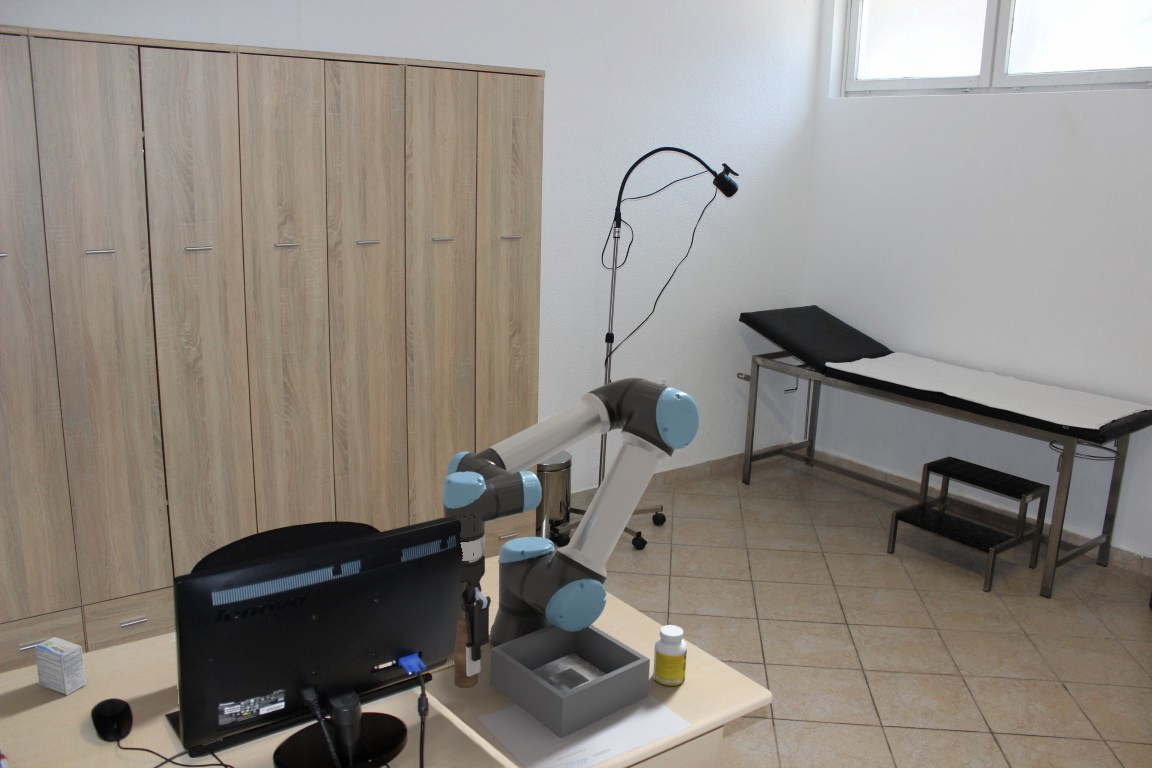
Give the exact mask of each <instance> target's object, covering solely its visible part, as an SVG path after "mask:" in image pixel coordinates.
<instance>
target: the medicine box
mask: <svg viewBox="0 0 1152 768" xmlns="http://www.w3.org/2000/svg"><path fill="white" fill-rule="evenodd" d="M34 653H35V660H36V668H37V676H38V684H39V686H40V687H44V688H47V689H49V690H52V691H55V692H57V693H60V694H63V695H66V696H68V695H70V694H72V693H74V692H76V691H77V690H79V689H81V688H83V687H85V686H86V685H87V680H86V673H85V665H84V658H83V657H84V656H83V649H82V646H81V645H79V644H76V643H73V642H71V641H68V640H65V639H62V638H60V637H56V636H53V637H50V638H49V639H46V640H44V641H43V642H41V643H38V644H37V645H36V646H34Z"/></svg>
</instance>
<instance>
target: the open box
mask: <svg viewBox="0 0 1152 768" xmlns="http://www.w3.org/2000/svg"><path fill="white" fill-rule="evenodd" d="M572 653H574V654H576V655H577V656H579V657H580V658H582V659H584V660H585V661H587V662H588V663H590V664H591V665H593V666H595V667H596V668H598V669H599V670H601V671H602V672H604V673H606V675H604V676H602V677H599V678H597V679H595V680H593V681H590V682H588V683H586V684H584V685H581V686H579V684H577V683H576V682H574V681H573V680H571V679H569V680H567V681H565V682H563V683H560V684H559V685H560V686H562V687H563V688H564V689H566V690H567V691H568V690H570V689H572V688H574V687H577V686H579V687H577V688H575V689H573V690H570V691H568V692H566V693H562V692H561V691H559V690H558V689H556V688H555V687H554V686H552V685H551V684H549V683H548V682H546V681H545V680H544V679H542V678H541V677H539V676H538V675H536V674H535V673H533V672H532V671H531V670H534V669H536V668H538V667H541V666H543V665H546V664H548V663H550V662H553V661H555V660H558V659H560V658H562V657H565V656H567V655H570V654H572ZM650 663H651V659H650V658H649V657H647V656H645V655H644V654H642V653H640V652H638V651H637V650H635V649H633V648H632V647H630V646H629V645H626V644H625V643H623V642H621V641H620V640H618V639H616V638H615V637H613V636H612V635H609V634H608V633H606V632H605V631H603V630H602V629H600V628H598V627H596V626H595V625H593V624H591V625H590V626H589V627H587V628H583V629H582V630H580V631H575V632H570V631H566V630H563V629H561V628H559V627H558V626H555V625H551V626H548V627H545V628H543V629H540V630H538V631H535V632H532V633H530V634H527V635H525V636H522V637H519V638H517V639H514V640H512V641H509V642H506V643H504V644H501V645H499V646H496V647H493V646H492V648H491V649H490V686H491V687H493V688H494V689H495V690H497V691H498V692H500V693H501V694H502V695H503V696H505V698H507V699H509V700H510V701H511V702H513V703H514V704H515V705H516V706H518V707H519V708H520V709H521V710H523V711H525V712H526V713H527V714H528V715H529V716H531V717H533V718H534V719H535V720H537V721H538V722H539V723H540V724H542V725H543V726H544V727H545V728H548V730H550V731H552V732H553V733H554V734H555V735H556V736H558V737H559V738H560V739H563V738H565V737H567V736H569V735H571V734H573V733H576V732H578V731H580V730H581V729H583V728H586V727H588V726H590V725H592V724H594V723H597V722H598V721H601V720H603V719H604V718H607V717H608V716H610V715H612V714H614V713H617V712H618V711H620V710H622V709H625V708H626V707H628V706H630V705H633V704H635V703H637V702H639V701H641V700H643V699H645V698H647V697H649V685H650V684H649V683H650V668H651V667H650Z"/></svg>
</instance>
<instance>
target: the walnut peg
mask: <svg viewBox="0 0 1152 768" xmlns="http://www.w3.org/2000/svg"><path fill="white" fill-rule="evenodd" d="M467 643H469V641H468V633H467V626H466V619H465V618H464V619H462V620H458V622H457V632H456V642H455V651H454V665H453V666H454V667H453V669H454V670H453V672H454V674H453V675H454V685H455V686H456V687H457V688H460V689H471V688H473V687H475V686H477V685H478V675H479V673H477V674H474V675H472V676H469V677H468V676H467V675H466V644H467Z"/></svg>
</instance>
